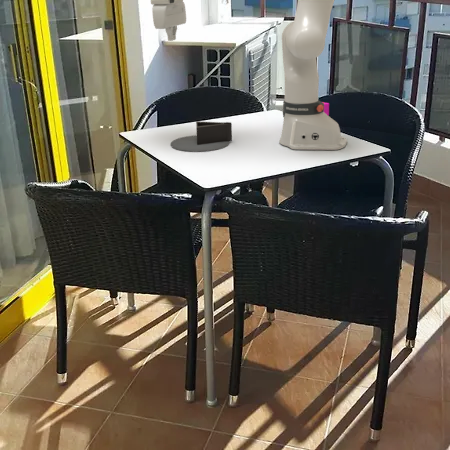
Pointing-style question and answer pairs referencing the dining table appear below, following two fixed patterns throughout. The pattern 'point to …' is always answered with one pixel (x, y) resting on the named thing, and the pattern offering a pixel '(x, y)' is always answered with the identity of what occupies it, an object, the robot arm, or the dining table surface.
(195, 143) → the mat
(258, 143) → the dining table surface
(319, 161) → the dining table surface
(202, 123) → the phone stand
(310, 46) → the robot arm
